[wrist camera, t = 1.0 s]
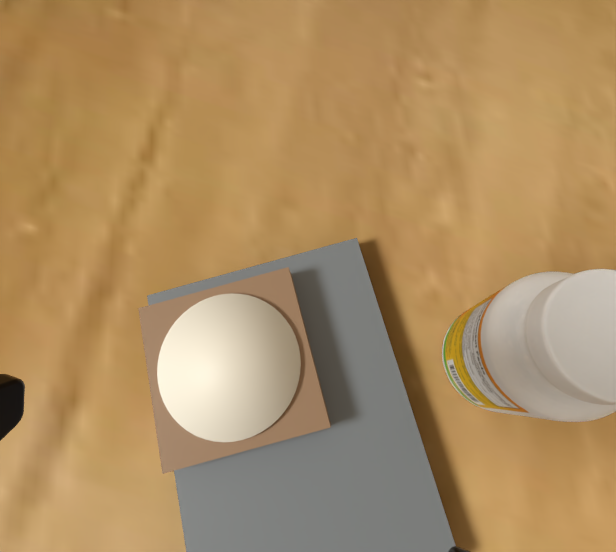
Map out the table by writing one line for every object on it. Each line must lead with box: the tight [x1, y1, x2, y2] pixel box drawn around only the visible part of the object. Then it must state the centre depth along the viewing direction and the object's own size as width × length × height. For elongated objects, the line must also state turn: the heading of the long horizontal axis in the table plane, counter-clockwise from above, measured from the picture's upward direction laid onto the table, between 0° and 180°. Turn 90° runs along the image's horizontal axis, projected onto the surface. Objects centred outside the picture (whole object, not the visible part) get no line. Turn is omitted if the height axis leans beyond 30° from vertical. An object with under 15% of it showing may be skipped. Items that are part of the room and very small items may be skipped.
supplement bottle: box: [442, 269, 616, 422], centre depth 16 cm, size 5×5×10 cm
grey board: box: [138, 238, 456, 552], centre depth 20 cm, size 16×12×2 cm
